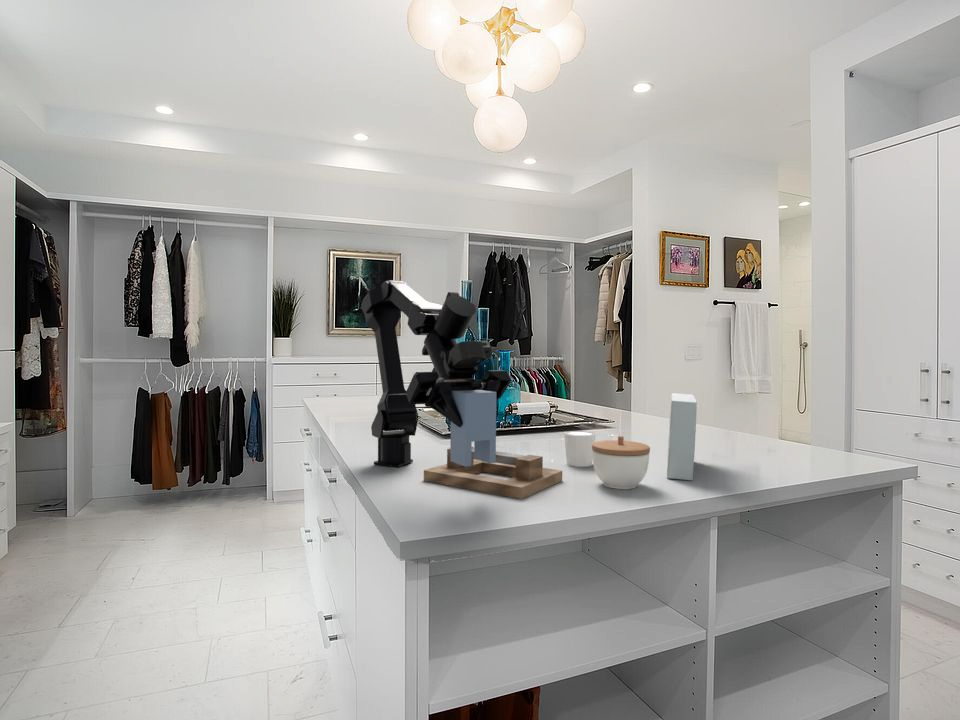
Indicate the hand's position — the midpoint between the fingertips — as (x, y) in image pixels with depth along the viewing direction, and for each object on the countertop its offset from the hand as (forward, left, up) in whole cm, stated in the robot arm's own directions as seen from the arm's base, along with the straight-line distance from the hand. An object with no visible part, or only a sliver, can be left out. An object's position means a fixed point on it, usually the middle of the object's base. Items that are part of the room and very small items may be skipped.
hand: (477, 424), depth 95 cm
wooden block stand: (-4, +15, -13) cm, 21 cm away
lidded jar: (+19, +23, -14) cm, 33 cm away
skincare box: (+28, +43, -14) cm, 53 cm away
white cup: (+7, +38, -13) cm, 41 cm away
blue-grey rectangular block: (-1, +1, -7) cm, 7 cm away
